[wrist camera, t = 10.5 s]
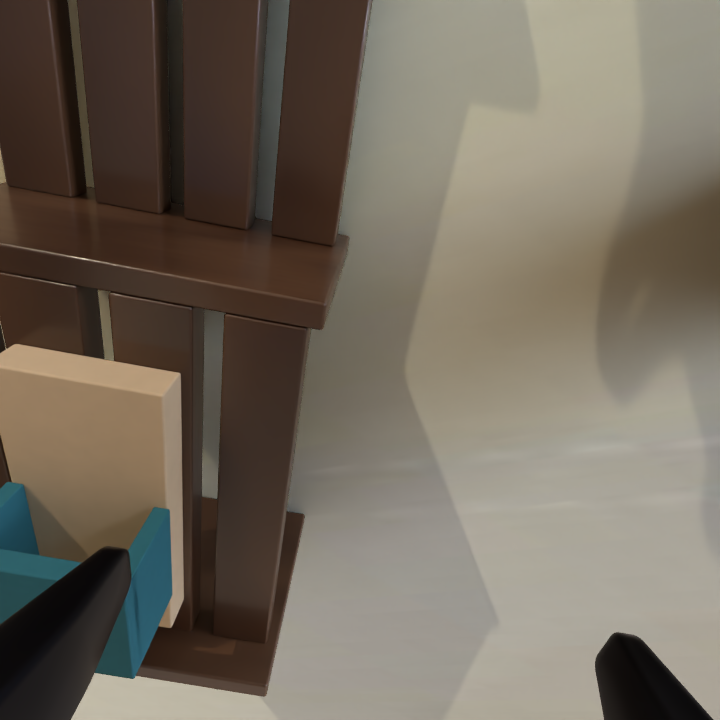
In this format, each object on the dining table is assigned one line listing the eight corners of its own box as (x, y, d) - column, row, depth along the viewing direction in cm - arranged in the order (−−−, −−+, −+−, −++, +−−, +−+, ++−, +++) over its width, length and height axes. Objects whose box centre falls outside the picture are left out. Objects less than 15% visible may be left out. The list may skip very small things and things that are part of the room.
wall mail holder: (185, 373, 13) (111, 467, 10) (187, 598, 18) (138, 715, 14) (11, 342, 13) (-127, 426, 10) (59, 577, 18) (-21, 690, 14)
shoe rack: (453, -404, 11) (580, -1497, 3) (303, 524, 26) (265, 698, 18) (-71, -522, 11) (-1168, -1995, 3) (80, 485, 25) (-52, 646, 18)
